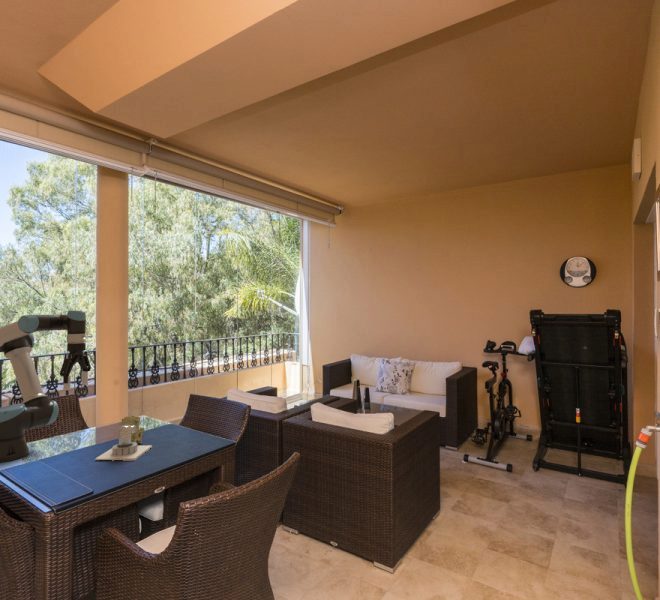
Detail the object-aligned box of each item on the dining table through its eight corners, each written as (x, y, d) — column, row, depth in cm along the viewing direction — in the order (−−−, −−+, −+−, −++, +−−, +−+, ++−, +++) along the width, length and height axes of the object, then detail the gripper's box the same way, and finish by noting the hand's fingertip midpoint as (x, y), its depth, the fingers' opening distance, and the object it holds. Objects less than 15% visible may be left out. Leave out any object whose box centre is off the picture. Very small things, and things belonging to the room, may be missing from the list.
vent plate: (95, 460, 186) (95, 452, 186) (116, 447, 204) (116, 439, 204) (134, 460, 186) (134, 451, 186) (152, 447, 204) (152, 439, 204)
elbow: (123, 454, 192) (123, 428, 192) (116, 452, 194) (116, 426, 195) (137, 449, 198) (138, 424, 199) (131, 447, 201) (131, 423, 201)
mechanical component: (143, 455, 213) (151, 415, 222) (127, 452, 198) (136, 409, 206) (129, 455, 214) (137, 415, 222) (111, 452, 198) (120, 409, 206)
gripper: (67, 344, 183) (66, 392, 183) (99, 340, 208) (98, 382, 208) (50, 344, 183) (50, 392, 183) (84, 340, 208) (83, 383, 208)
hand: (76, 387), depth 195 cm, fingers open, 13 cm apart
